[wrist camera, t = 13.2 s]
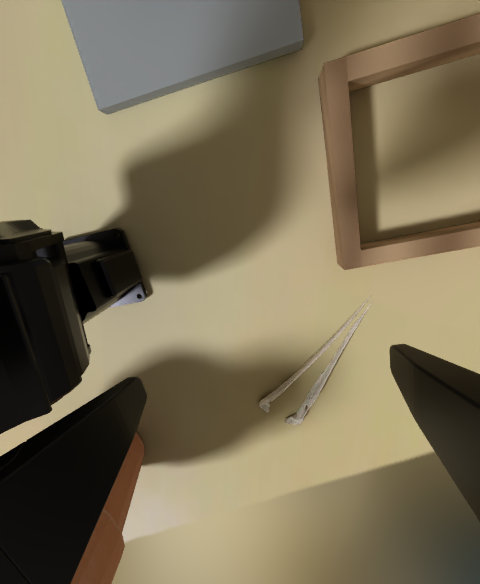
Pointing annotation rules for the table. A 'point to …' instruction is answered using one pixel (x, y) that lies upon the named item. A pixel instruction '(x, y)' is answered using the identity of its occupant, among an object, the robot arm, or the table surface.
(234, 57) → the grey mat
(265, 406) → the tweezers
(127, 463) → the potted plant
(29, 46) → the table surface
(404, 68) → the frame
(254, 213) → the table surface
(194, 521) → the table surface
